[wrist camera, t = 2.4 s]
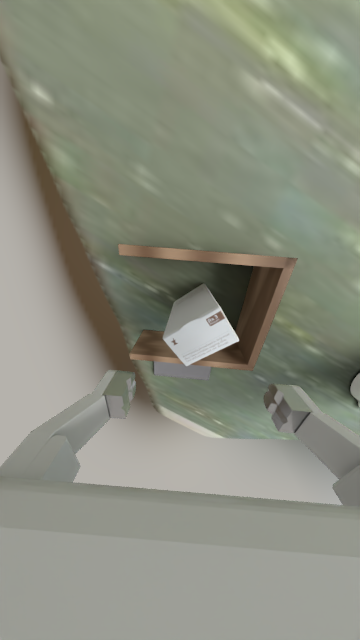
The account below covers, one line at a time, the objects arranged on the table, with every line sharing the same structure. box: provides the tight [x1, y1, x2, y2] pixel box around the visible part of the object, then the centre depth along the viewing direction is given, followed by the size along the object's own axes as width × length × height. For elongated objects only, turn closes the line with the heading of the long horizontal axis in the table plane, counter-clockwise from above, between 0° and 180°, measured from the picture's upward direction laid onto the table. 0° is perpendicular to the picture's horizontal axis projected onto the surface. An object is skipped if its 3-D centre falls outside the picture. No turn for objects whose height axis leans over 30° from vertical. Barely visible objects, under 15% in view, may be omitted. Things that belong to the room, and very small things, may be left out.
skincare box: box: [163, 283, 239, 366], centre depth 18 cm, size 6×4×12 cm
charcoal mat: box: [154, 361, 211, 380], centre depth 29 cm, size 12×8×1 cm, turn 86°
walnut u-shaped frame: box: [118, 244, 298, 371], centre depth 20 cm, size 18×15×7 cm
